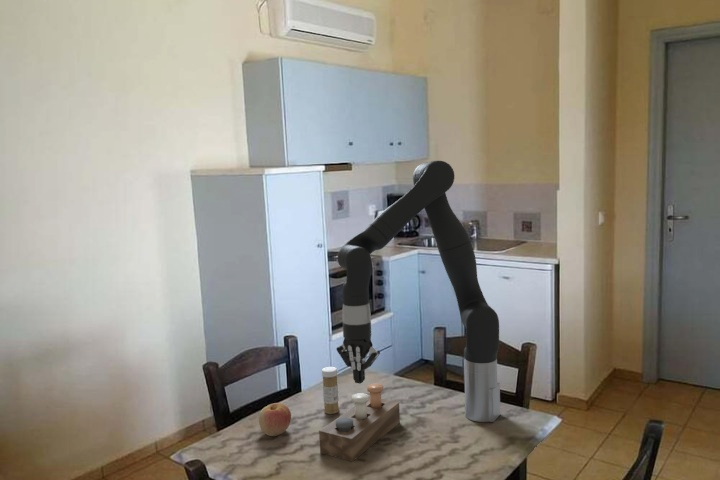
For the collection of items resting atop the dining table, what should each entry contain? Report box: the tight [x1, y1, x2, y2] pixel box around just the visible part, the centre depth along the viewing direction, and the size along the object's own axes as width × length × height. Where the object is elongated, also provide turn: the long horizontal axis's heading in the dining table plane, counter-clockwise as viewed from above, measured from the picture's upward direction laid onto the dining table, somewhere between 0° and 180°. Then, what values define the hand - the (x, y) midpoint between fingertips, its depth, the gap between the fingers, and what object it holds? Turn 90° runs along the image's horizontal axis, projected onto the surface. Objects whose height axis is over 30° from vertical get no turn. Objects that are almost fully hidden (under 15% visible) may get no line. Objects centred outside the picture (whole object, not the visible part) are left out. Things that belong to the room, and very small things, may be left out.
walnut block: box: [318, 395, 401, 462], centre depth 162 cm, size 10×25×6 cm, turn 148°
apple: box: [258, 402, 292, 437], centre depth 166 cm, size 9×9×8 cm
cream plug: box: [351, 392, 370, 420], centre depth 161 cm, size 5×5×7 cm
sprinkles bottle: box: [321, 366, 340, 415], centre depth 179 cm, size 5×5×13 cm
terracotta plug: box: [366, 382, 384, 409], centre depth 168 cm, size 5×5×7 cm
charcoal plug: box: [336, 418, 353, 432], centre depth 155 cm, size 5×5×7 cm
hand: (359, 382), depth 160 cm, fingers closed
